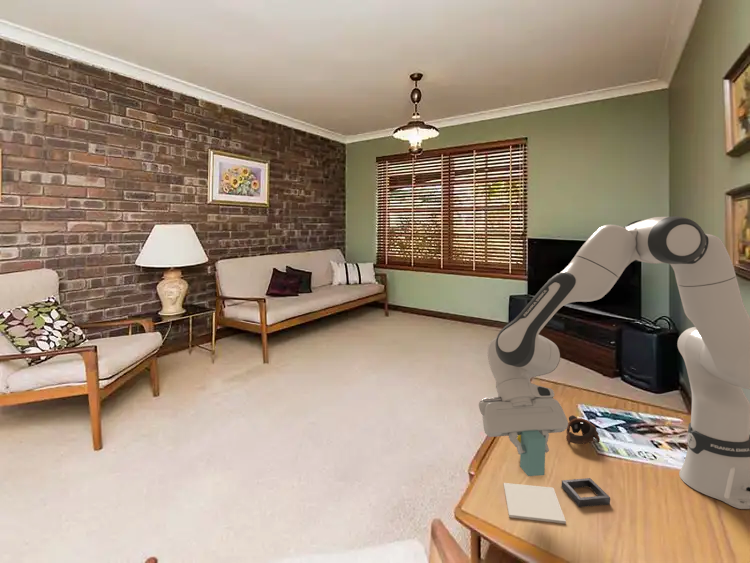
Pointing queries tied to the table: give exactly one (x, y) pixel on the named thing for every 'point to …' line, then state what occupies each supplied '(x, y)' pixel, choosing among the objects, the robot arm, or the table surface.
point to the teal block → (533, 453)
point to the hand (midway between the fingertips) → (534, 452)
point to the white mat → (533, 503)
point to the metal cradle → (585, 501)
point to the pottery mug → (586, 429)
